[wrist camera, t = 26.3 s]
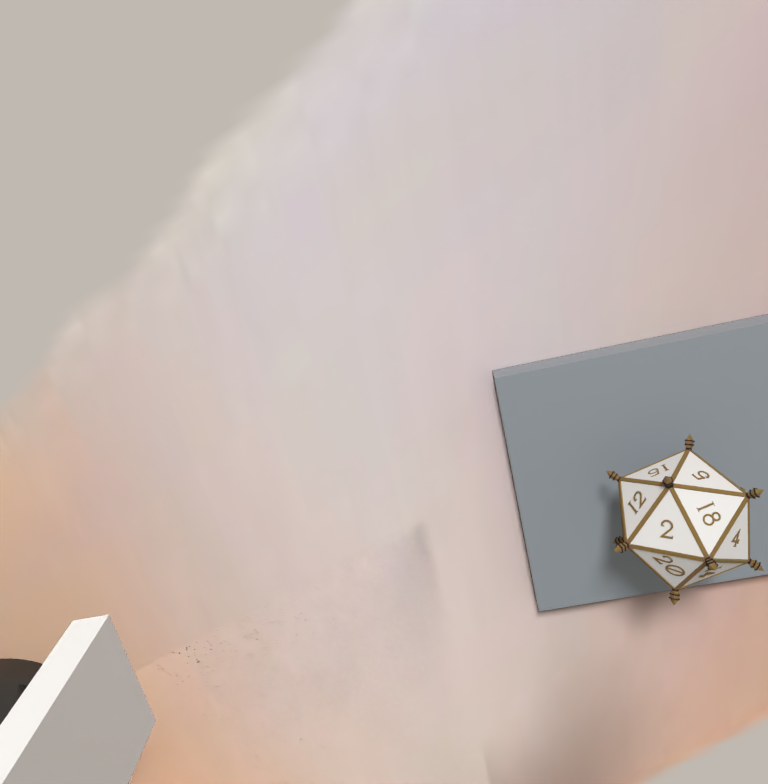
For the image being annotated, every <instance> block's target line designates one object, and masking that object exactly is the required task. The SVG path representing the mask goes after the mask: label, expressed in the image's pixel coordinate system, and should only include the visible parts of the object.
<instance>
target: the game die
mask: <svg viewBox="0 0 768 784" xmlns="http://www.w3.org/2000/svg"><path fill="white" fill-rule="evenodd" d="M694 442H695V441H694V440H693V438H692V437H691V435H689V436H688V437H687V439H686V440H685V444H684V445H685V446H686V449H685V450H683V451H680V452H678V453H676V454H674V455H671V456H669V457H667V458H664V459H662V460H660V461H657V462H655V463H653V464H650V465H648V466H646V467H643V468H641V469H639V470H636V471H634V472H632V473H630V474H627V475H625V476H623V477H620V476H619V475H618V473H615V472H614V471H607V474H608V476H609V479H610V478H611V479H613V480H616V481H618V487H619V499H620V510H621V522H622V534H623V537H621V536H619V537H616V538H615V541H614V542H613V543H614V544H617V545H616V548H615V550H614V551H616V552H620V553H623V552H624V551H626V549H627V548H628V549H629V550H630V551H631V552H632V553H633V554H635V555H636V556H637V557H638V558H639V559H640V560H641V561H642V562H643V563H644V564H645V565H647V566H648V567H649V568H650V569H651V570H652V571H653V572H654V573H655V574H656V575H658V576H659V577H660V578H661V579H662V580H663V581H664V582H665V583H666V584H667V585H669V586H670V587H671V588H672V591H671V593H670V594H671V595H670V597H669V598H670V599H671V601H672V603H673V605H675V604H676V602H677V601H678V600H679V596H680V595H679V593H678V590H680V589H682V588H685V587H687V586H690V585H693V584H695V583H698V582H700V581H703V580H706V579H708V578H711V577H713V576H716V575H719V574H721V573H724V572H726V571H729V570H732V569H734V568H737V567H739V566H742V565H745V564H749V565H750V567H751V568H754V570H755V571H756V570H759V571H764V570H763V568H762V566H761V562H757V560H752V559H751V558H750V498H754V499H755V498H756V497H758V498H760V495H761V493H762V492H763V491H764V490H761V489H757V488H753V489H752V490H749V492H745V489H743V488H742V487H739V486H738V485H736V484H735V483H734V482H733V481H731V480H730V479H729V478H727V477H726V476H725V475H724V474H722V473H721V472H720V471H718V470H717V469H716V468H714V467H713V466H712V465H711V464H709V463H708V462H707V461H705V460H704V459H703V458H702V457H700V456H699V455H698V454H696V453H695V452H694V451H693V450H692V447H693V446H694V445H693V444H694Z"/></svg>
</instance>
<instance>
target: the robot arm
mask: <svg viewBox="0 0 768 784" xmlns="http://www.w3.org/2000/svg"><path fill="white" fill-rule="evenodd" d="M155 722H156V719H155V717H154V715H153V713H152V710H151V708H150V706H149V704H148V701H147V699H146V697H145V695H144V692H143V690H142V688H141V686H140V683H139V681H138V679H137V677H136V674H135V672H134V670H133V668H132V665H131V663H130V661H129V658H128V656H127V654H126V652H125V649H124V647H123V645H122V643H121V640H120V638H119V636H118V634H117V631H116V629H115V627H114V625H113V622H112V620H111V618H110V616H109V615H104V616H98V617H92V618H86V619H80V620H74V621H73V622H72V623H71V624H70V626H69V627H68V629H67V630H66V632H65V633H64V635H63V636H62V637H61V639H60V640H59V642H58V643H57V645H56V646H55V647H54V649H53V650H52V652H51V653H50V655H49V656H48V657H47V659H46V660H45V662H44V663H43V664H41V663H37V662H33V661H28V660H21V659H0V784H128V783H129V781H130V778H131V776H132V774H133V772H134V769H135V767H136V765H137V763H138V760H139V758H140V756H141V753H142V751H143V749H144V747H145V744H146V742H147V740H148V737H149V735H150V733H151V731H152V728H153V726H154V724H155Z"/></svg>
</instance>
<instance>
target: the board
mask: <svg viewBox="0 0 768 784" xmlns="http://www.w3.org/2000/svg"><path fill="white" fill-rule="evenodd" d="M493 377H494V382H495V387H496V392H497V398H498V403H499V408H500V413H501V419H502V424H503V429H504V434H505V439H506V445H507V450H508V455H509V460H510V466H511V471H512V476H513V481H514V487H515V492H516V497H517V502H518V507H519V513H520V518H521V523H522V528H523V534H524V539H525V544H526V549H527V555H528V560H529V565H530V570H531V575H532V581H533V586H534V591H535V596H536V601H537V605H538V609H539V611H544V610H551V609H557V608H563V607H569V606H575V605H582V604H588V603H594V602H600V601H606V600H613V599H619V598H625V597H631V596H637V595H644V594H650V593H656V592H662V591H668V590H672V588H671V587H670V586H669V585H667V584H666V583H665V582H664V581H663V580H662V579H661V578H660V577H659V576H658V575H656V574H655V573H654V572H653V571H652V570H651V569H650V568H649V567H648V566H647V565H645V564H644V563H643V562H642V561H641V560H640V559H639V558H638V557H637V556H636V555H635V554H633V553H632V552H631V551H630V550H629V549H628V548H627V549H626V551H624V552H623V553H620V552H616V551H614V550H615V548H616V545H617V544H614V543H613V542H614V541H615V538H616V537H619V536H621V537H623V534H622V522H621V510H620V499H619V487H618V481H616V480H613V479H611V478H610V479H609V476H608V474H607V471H614V472H615V473H618V475H619V476H620V477H623V476H625V475H627V474H630V473H632V472H634V471H636V470H639V469H641V468H643V467H646V466H648V465H650V464H653V463H655V462H657V461H660V460H662V459H664V458H667V457H669V456H671V455H674V454H676V453H678V452H680V451H683V450H685V449H686V446H685V445H684V444H685V440H686V439H687V437H688V436H689V435H691V437H692V438H693V440H694V441H695V442H694V444H693V445H694V446H693V447H692V450H693V451H694V452H695V453H696V454H698V455H699V456H700V457H702V458H703V459H704V460H705V461H707V462H708V463H709V464H711V465H712V466H713V467H714V468H716V469H717V470H718V471H720V472H721V473H722V474H724V475H725V476H726V477H727V478H729V479H730V480H731V481H733V482H734V483H735V484H736V485H738V486H739V487H742V488H743V489H745V492H749V490H752V489H753V488H757V489H761V490H764V491H763V492H762V493H761V495H760V498H758V497H756V498H755V499H754V498H750V558H751V559H752V560H757V562H761V566H762V568H763V570H764V571H759V570H756V571H755V570H754V568H751V567H750V565H749V564H745V565H742V566H739V567H737V568H734V569H732V570H729V571H726V572H724V573H721V574H719V575H716V576H713V577H711V578H708V579H706V580H703V581H700V582H698V583H695V584H693V585H690V586H687V587H693V586H699V585H706V584H712V583H718V582H724V581H730V580H737V579H743V578H749V577H755V576H761V575H768V314H766V315H761V316H756V317H751V318H746V319H741V320H737V321H732V322H727V323H722V324H717V325H712V326H707V327H702V328H698V329H693V330H688V331H683V332H678V333H673V334H668V335H663V336H658V337H654V338H649V339H644V340H639V341H634V342H629V343H624V344H619V345H615V346H610V347H605V348H600V349H595V350H590V351H585V352H580V353H576V354H571V355H566V356H561V357H556V358H551V359H546V360H541V361H537V362H532V363H527V364H522V365H517V366H512V367H507V368H502V369H498V370H493ZM687 587H685V588H687Z"/></svg>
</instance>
